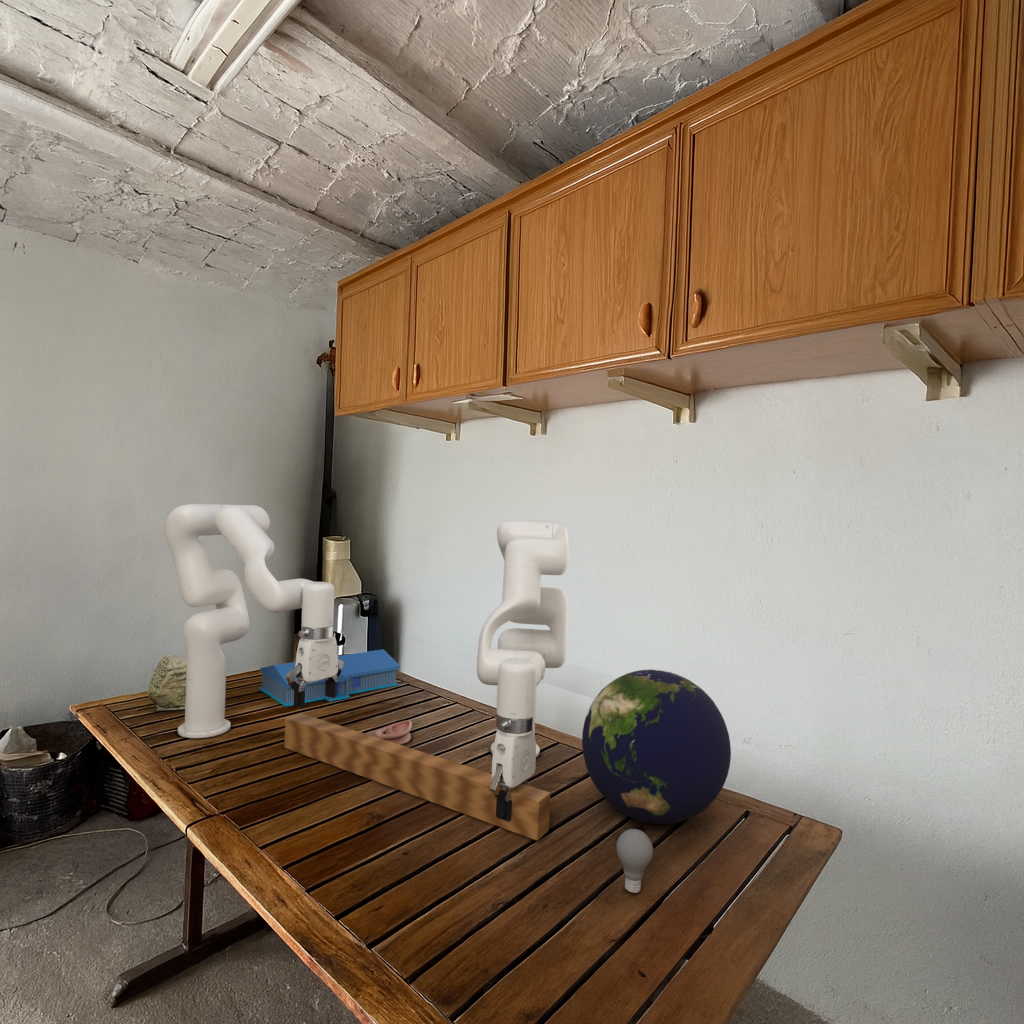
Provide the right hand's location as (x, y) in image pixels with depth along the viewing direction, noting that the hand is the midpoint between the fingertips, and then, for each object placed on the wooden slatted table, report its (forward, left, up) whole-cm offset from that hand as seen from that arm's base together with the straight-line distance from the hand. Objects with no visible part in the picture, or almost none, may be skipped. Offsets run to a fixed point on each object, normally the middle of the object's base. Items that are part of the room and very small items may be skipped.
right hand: (510, 812), depth 126 cm
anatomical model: (-39, -34, -2) cm, 52 cm away
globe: (-6, +29, -2) cm, 30 cm away
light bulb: (+20, +21, -2) cm, 29 cm away
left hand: (-29, -50, +10) cm, 58 cm away
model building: (-80, -61, -2) cm, 101 cm away
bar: (-15, -25, -2) cm, 29 cm away
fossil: (-56, -98, -2) cm, 113 cm away
